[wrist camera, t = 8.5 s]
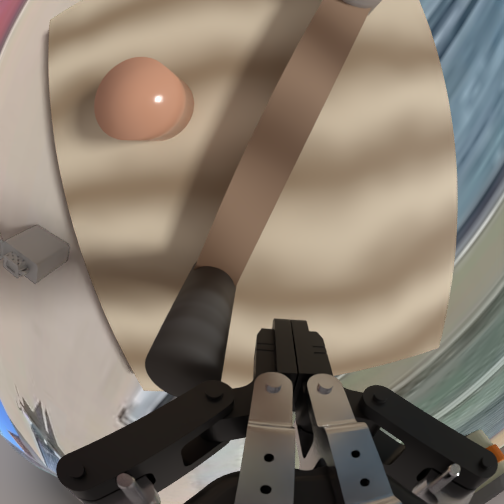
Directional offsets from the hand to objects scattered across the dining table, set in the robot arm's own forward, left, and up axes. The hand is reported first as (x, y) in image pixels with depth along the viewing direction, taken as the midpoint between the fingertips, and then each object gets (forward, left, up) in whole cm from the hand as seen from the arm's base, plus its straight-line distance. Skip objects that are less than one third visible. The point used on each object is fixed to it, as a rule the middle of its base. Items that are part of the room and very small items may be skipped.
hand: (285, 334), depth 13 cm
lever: (-9, +2, -4) cm, 10 cm away
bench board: (-7, 0, -7) cm, 10 cm away
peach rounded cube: (-12, -5, -5) cm, 14 cm away
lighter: (-6, -19, -7) cm, 21 cm away
